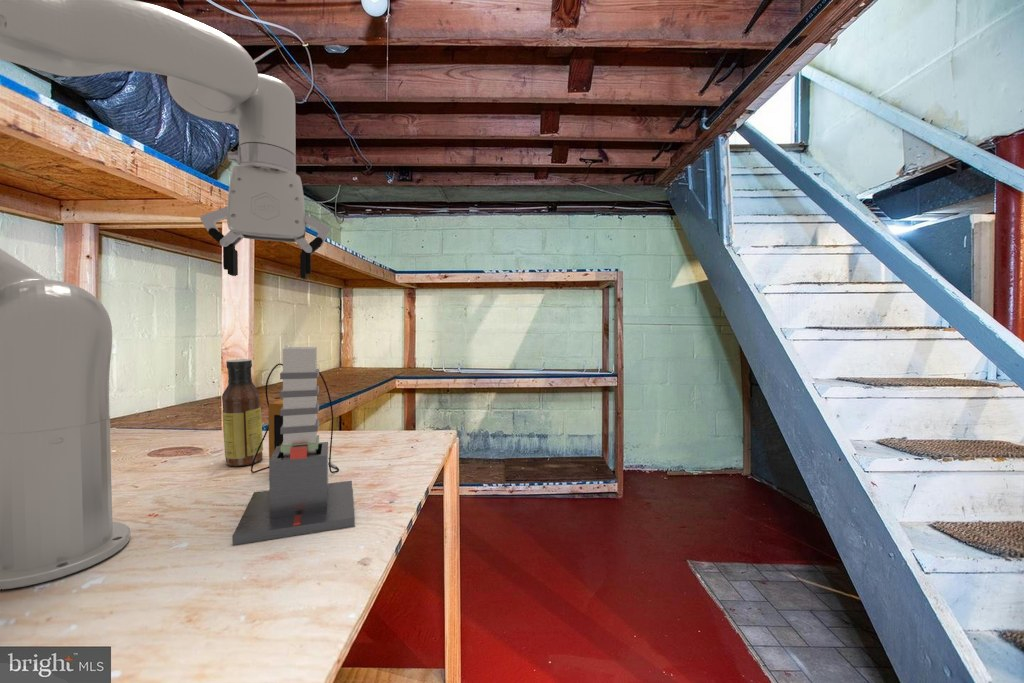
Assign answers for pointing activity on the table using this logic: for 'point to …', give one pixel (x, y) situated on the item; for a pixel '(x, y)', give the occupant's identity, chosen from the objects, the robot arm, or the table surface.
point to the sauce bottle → (241, 415)
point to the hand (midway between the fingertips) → (269, 277)
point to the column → (299, 399)
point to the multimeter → (277, 423)
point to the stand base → (297, 499)
